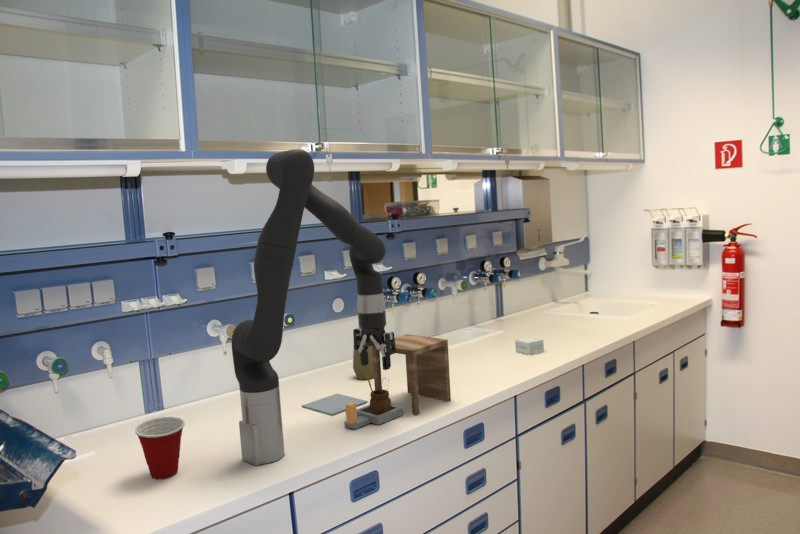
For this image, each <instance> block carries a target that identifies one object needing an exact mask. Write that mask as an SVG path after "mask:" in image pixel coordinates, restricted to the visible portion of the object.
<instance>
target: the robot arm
mask: <svg viewBox="0 0 800 534" xmlns="http://www.w3.org/2000/svg"><path fill="white" fill-rule="evenodd" d="M314 162H315V161H314V160H313V157H312V156H311V154H310V153H309V152H307V150H304V149H301V148H295V149H289V150H283V151H279V152H277V153H274V154H272V155H271V156H270V157H269V158H268V159H267V162H266V166H265V172H266V176H267V178H268V180H269V181H270V183H272V185H273V186H275V187H276V188H278V189H279V191H278V196H277V200H276V203H275V206H274V208H273V210H272V212H271V213H270V215H269V218H268V219H267V220H266V222H265V224H264V226H263V228H262V229H261V231H260V234H259V237H258V240H257V244H256V248H255V255H254V260H253V274H254V280H255V285H256V293H257V294H256V296H257V297H256V299H257V301H256V306H255V307H256V308H255V313H254V317H253V319H247V320H243V321H241V322H239V323H238V324H237V326H235V328H234V330H233V331H232V335H231V353H232V362H233V369H234V374H235V378H236V380H237V382H238V385H239V395H240V396H239V397H240V408H241V420H240V421H239V422H238V427H239V437H240V438H239V439H240V451H241V459H242V461H245V462H247V463H248V464H249V463H250V464H251V465H254V466H259V465H262V464H270V463H274V462H276V461H279V460H280V459H282V458H283V457H284V456H285V444H284V442H285V441H284V431H283V429H284V428H283V417H282V406H281V394H280V391H281V390H280V380H279V374H278V372H277V371H276V370H275V369H274V367H273V366H272V364H271V362H270V361H271V360H273V359H274V358H275V357H276V356H277V354H278V353H279V351H280V349H281V346H282V342H283V334H284V325H285V324H284V321H285V312H286V311H285V309H286V302H287V299H288V292H289V287H290V286H289V285H290V281H291V276H292V270H293V266H294V262H295V257H296V253H297V252H296V251H297V245H298V240H299V235H300V230H301V225H302V221H303V216H304V211H305V209H306V210H307V211H308V212H309V213H311V215H312V216H314V217H315V218H316V219H317V220H319V222H320V223H322V224H323V226H324V227H326V229H328V231H330V232H331V234H333V236H335V237H336V239H338V241H340V242H341V243H343V244H346V245H349V251H348V252H349V254H348V255H349V259H350V260H349V261H350V263H351V266H352V270H353V273H354V275H355V278H356V291H357V292H356V293H357V303H356V304H357V313H358V316H357V317H358V327H357V328H354V329H353V332H352V333H353V335H352V336H353V350H354V349H355V350H358V351H359V353H360V361H361V365H362V366H365V365H368V364H369V361H368V352H367V350H368V348H369V346H373V347H376V348H377V349H378V350H379V351H380V355H381V356H382V357H381V360H382V361H381V362H382V363H381V364H382V369H383V371H387V370H390V368H391V366H392V362H391V355H394V354H397V353H396V347H395V338H396V337H395V333H394V332H393V331H389V332H386V330H385V327H386V325H387V316H386V313H387V312H386V303H385V302H386V301H385V295H384V285H383V276H382V274H381V273H380V272H379V271H377V270H375V268H374V266H373V264H377V263H380V262H382V261H383V260H384V258H385V257H386V253H387V251H386V246H385V244H384V241H383V240H382V239H381V237H379V236H378V235H377V234H376V233H374V232H373V231H371V230H370V229H368V228H367V227H366V226H364V225H363V224H361V223H360V222H359V221H358V220H357V219H356V218H355V217H354V215H352V213H351V212H350V211H349V210H348V209H347V208H345V207H344V206H343V205H342V204H341V203H339V202H338V201H336V200H335V199H334V198H332V197H330V196H328V195H327V194H325V193H324V192H322V191H321V190H319V189H318V188H317V187H316V186H314V185H313V180H314V176H315V163H314ZM358 341H359V345H358ZM382 343H383V345H382ZM390 346H391V348H390ZM384 349H385V350H384ZM391 349H392V350H391Z"/></svg>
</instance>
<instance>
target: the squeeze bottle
mask: <svg viewBox="0 0 800 534" xmlns="http://www.w3.org/2000/svg"><path fill="white" fill-rule="evenodd" d="M358 345H359V341H358ZM367 352H368V361H369V364H368V365H365V366H362V365H361V361H360V353H359V351H358V350H355V349H354V348H353V352H352V353H353V356H352V357H353V360H352V369H353V372H354V374H355V377H356V378H357V379H358V378H359V379H358V380H368V379H367V375H368V378H370V379H372V377H373V376H374V368H373V353H372V346H369V348H368V350H367ZM373 378H374V377H373Z"/></svg>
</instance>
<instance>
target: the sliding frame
mask: <svg viewBox="0 0 800 534" xmlns="http://www.w3.org/2000/svg"><path fill="white" fill-rule="evenodd" d="M345 406H346V411H345V416H346V418H345V419H346V420H345V421H344V427H347V428H349V429H353V430H357V429H359V428H361V427H363V426H366V425H369V424H371V423H372V424H374V425H378V426H379V425H381V424H384V423H386V422H390V421H391V420H393V419H395V418H399V417H401V416H402V415H404V414H405V413H404V412H405V411H404V407H403V406H399V405H395V404H391V410H390V411H388V412H385V413H383V414H380V415H375V414H371V413H370V404H368V405H365V406H362V407H359V408H357V407H356V404H355V403H348V404H345Z"/></svg>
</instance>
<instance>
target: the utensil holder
mask: <svg viewBox="0 0 800 534" xmlns="http://www.w3.org/2000/svg"><path fill="white" fill-rule="evenodd" d="M384 379H385V377H382V378H381V380H382V382H381V383H382V385H383V381H384ZM366 380H367V382H368V386H369V387H370V391H371V392H370V399H369V405H370V413H371V414H375V415H380V414H383V413H385V412H388V411H390V410H391V405H392V401H391V397H390V392H389V390H388V389H384V388H382V390H375V389H374V390H373V388H372V384H371V381H370V379H369V378H368V375H367V379H366ZM387 382H388V386H390V379H387ZM385 385H386V381H385Z"/></svg>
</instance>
